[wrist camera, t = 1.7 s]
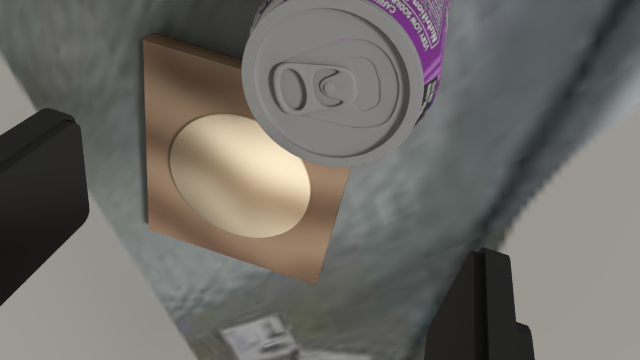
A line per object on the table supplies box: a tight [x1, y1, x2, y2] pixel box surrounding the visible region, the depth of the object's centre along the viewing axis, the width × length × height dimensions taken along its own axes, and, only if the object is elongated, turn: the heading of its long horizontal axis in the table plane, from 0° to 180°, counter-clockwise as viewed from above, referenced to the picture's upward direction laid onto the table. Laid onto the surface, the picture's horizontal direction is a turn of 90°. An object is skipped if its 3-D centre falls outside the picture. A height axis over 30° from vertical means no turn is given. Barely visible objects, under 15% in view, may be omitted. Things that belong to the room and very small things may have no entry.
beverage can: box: [241, 0, 451, 167], centre depth 21 cm, size 7×7×12 cm
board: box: [143, 33, 351, 285], centre depth 34 cm, size 16×14×2 cm
